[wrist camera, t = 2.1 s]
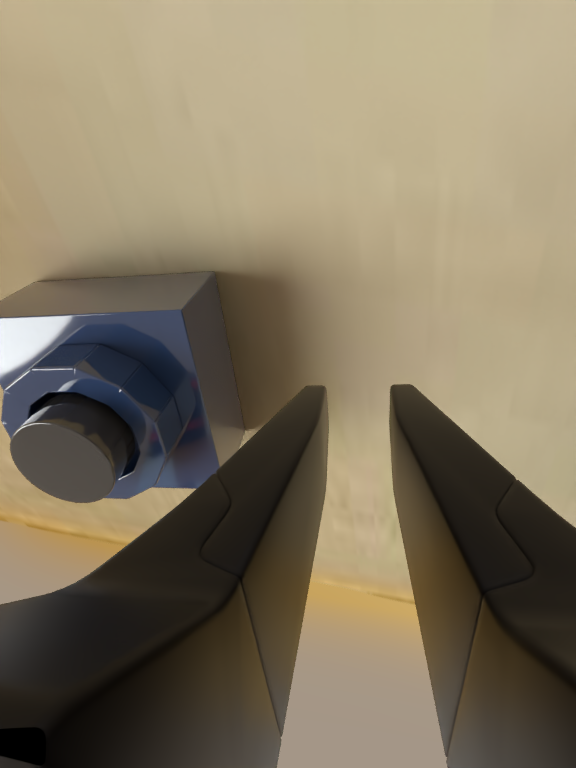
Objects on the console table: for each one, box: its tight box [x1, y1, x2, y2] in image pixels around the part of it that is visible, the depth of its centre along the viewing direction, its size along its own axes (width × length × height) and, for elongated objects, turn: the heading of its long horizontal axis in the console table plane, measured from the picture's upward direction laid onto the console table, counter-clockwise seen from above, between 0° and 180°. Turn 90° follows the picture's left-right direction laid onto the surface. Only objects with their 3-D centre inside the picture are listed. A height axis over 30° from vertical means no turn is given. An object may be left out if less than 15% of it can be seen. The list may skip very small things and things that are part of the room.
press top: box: [10, 394, 135, 503], centre depth 19 cm, size 4×4×2 cm
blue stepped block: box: [0, 271, 245, 499], centre depth 22 cm, size 10×10×7 cm
